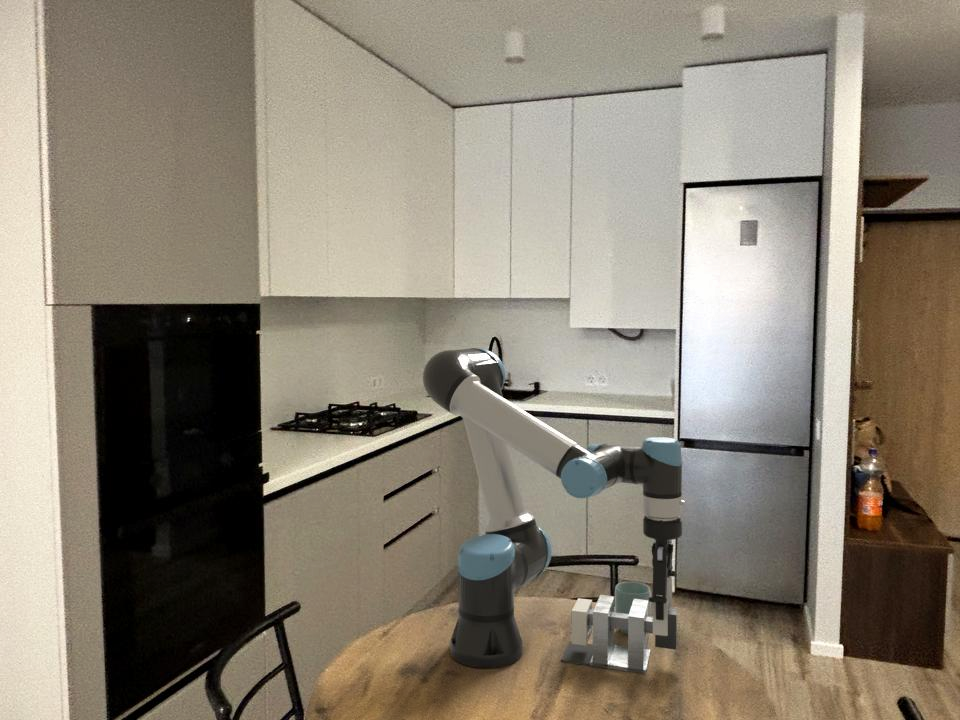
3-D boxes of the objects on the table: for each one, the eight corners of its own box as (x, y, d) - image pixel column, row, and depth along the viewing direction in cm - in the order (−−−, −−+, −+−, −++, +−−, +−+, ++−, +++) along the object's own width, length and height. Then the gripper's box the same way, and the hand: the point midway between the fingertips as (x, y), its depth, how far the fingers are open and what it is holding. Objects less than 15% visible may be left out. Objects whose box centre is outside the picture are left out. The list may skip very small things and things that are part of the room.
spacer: (571, 643, 149) (571, 610, 149) (577, 629, 156) (578, 598, 155) (586, 645, 148) (586, 612, 148) (592, 631, 155) (592, 599, 154)
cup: (650, 640, 158) (651, 595, 158) (614, 637, 160) (614, 592, 159) (649, 625, 166) (650, 582, 165) (615, 623, 168) (615, 580, 167)
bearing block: (590, 665, 147) (590, 611, 146) (597, 646, 156) (597, 594, 155) (645, 674, 143) (646, 618, 143) (650, 653, 152) (650, 600, 152)
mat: (560, 661, 149) (560, 659, 149) (569, 642, 157) (569, 641, 157) (590, 665, 147) (590, 664, 147) (597, 646, 156) (597, 645, 156)
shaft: (570, 635, 151) (570, 602, 150) (574, 627, 154) (574, 595, 154) (676, 649, 144) (676, 614, 144) (677, 641, 148) (677, 607, 147)
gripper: (678, 534, 132) (678, 649, 133) (684, 502, 156) (685, 600, 157) (636, 531, 135) (637, 644, 136) (649, 500, 158) (649, 596, 159)
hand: (662, 620), depth 146 cm, fingers open, 13 cm apart
